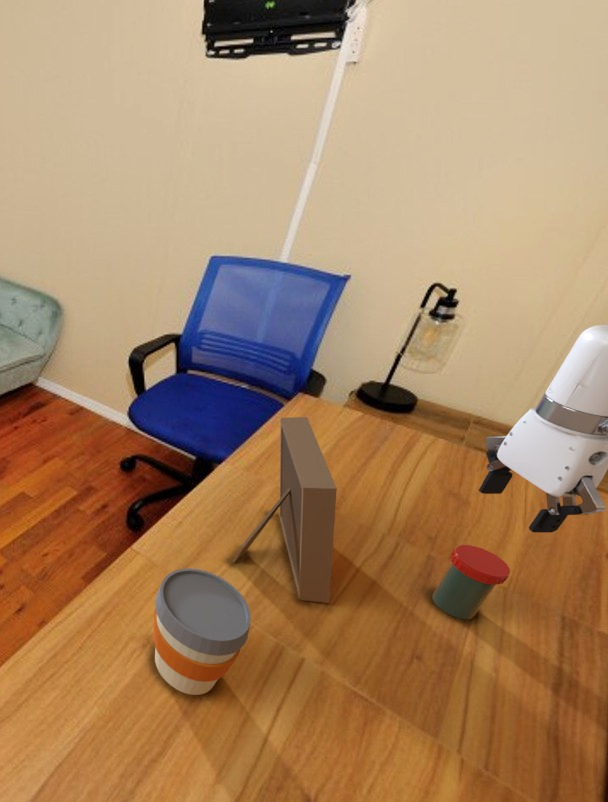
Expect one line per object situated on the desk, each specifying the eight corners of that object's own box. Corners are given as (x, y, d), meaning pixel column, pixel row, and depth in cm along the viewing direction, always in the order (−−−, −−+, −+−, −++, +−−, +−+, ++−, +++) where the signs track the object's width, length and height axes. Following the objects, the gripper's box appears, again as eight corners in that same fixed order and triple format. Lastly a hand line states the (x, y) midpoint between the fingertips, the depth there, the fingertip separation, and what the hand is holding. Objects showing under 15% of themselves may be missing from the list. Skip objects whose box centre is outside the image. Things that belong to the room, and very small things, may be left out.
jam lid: (498, 562, 84) (504, 554, 84) (510, 591, 79) (516, 583, 79) (446, 546, 88) (451, 538, 87) (454, 574, 83) (459, 566, 82)
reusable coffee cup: (134, 628, 85) (147, 566, 78) (209, 630, 84) (229, 567, 77) (156, 706, 74) (174, 642, 67) (243, 708, 73) (270, 643, 66)
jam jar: (470, 600, 89) (498, 557, 84) (478, 625, 84) (508, 581, 79) (429, 587, 91) (455, 544, 86) (435, 610, 87) (462, 567, 82)
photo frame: (302, 521, 106) (341, 422, 94) (327, 606, 88) (379, 496, 76) (225, 505, 111) (253, 409, 99) (234, 583, 93) (270, 476, 81)
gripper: (682, 452, 62) (600, 555, 70) (542, 383, 77) (488, 474, 85) (619, 452, 62) (544, 554, 70) (492, 384, 77) (443, 474, 85)
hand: (514, 510), depth 78 cm, fingers open, 7 cm apart
